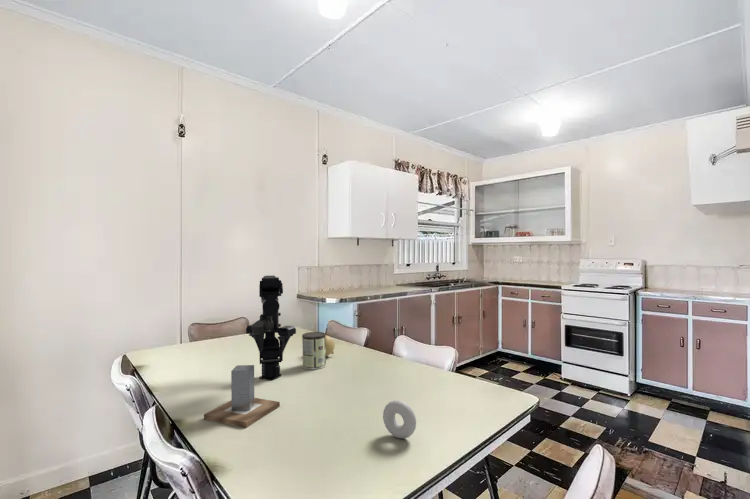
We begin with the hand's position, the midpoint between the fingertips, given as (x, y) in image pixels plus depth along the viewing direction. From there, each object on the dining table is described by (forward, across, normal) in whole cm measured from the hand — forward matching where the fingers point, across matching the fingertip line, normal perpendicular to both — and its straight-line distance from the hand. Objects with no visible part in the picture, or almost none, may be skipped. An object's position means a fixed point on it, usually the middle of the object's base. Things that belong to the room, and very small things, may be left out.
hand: (270, 353), depth 141 cm
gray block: (+12, +5, -21) cm, 24 cm away
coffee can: (+13, +1, +29) cm, 32 cm away
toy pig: (+13, -3, +44) cm, 46 cm away
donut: (+14, +56, -18) cm, 61 cm away
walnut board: (+13, +5, -21) cm, 25 cm away
